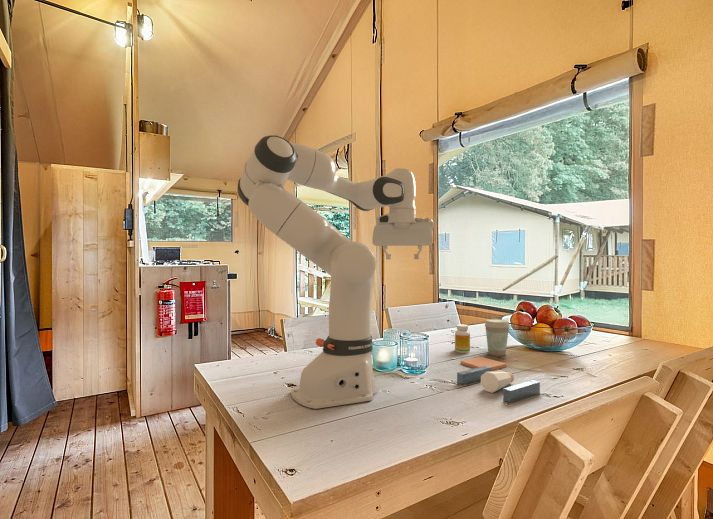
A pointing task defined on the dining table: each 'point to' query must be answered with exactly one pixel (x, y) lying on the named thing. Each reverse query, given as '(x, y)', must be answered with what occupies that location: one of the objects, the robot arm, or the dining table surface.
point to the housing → (509, 393)
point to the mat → (483, 363)
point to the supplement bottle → (462, 339)
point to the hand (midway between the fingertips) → (402, 259)
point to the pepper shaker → (496, 380)
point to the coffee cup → (497, 336)
